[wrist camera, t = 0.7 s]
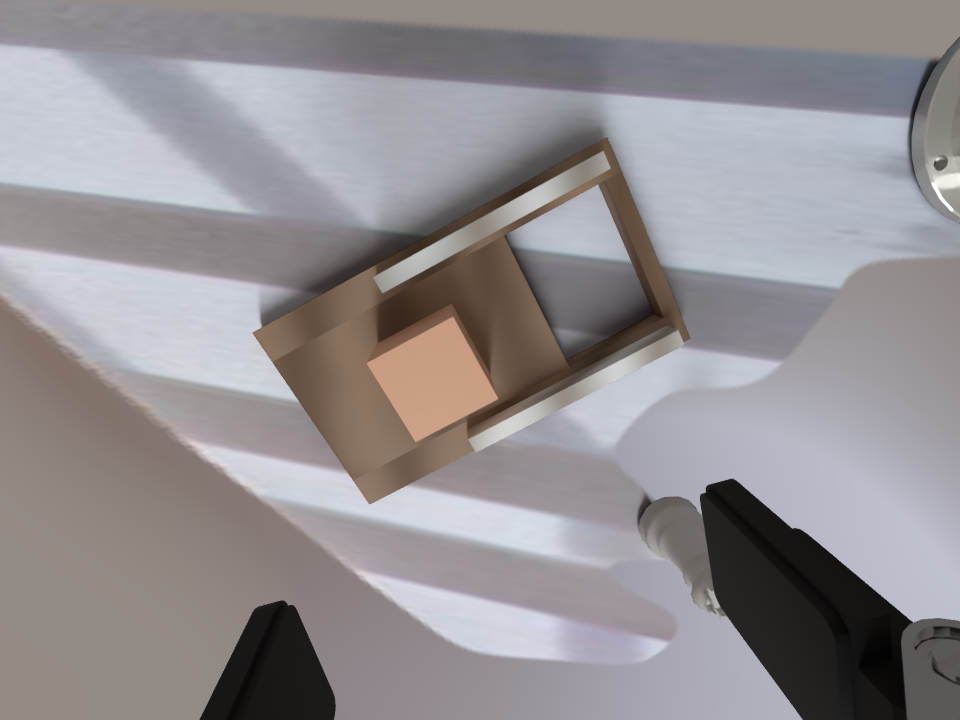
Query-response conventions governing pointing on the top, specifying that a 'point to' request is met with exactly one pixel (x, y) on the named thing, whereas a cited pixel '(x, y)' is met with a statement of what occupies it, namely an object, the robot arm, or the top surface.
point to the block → (432, 373)
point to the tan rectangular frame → (485, 315)
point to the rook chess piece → (682, 546)
